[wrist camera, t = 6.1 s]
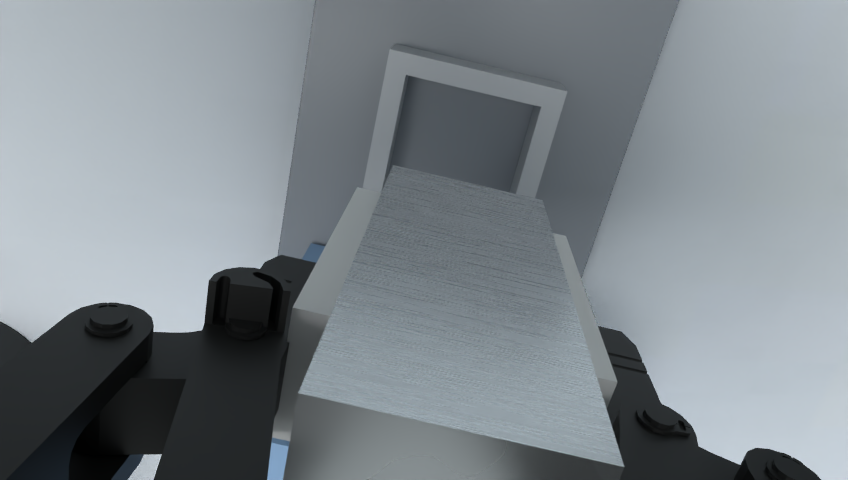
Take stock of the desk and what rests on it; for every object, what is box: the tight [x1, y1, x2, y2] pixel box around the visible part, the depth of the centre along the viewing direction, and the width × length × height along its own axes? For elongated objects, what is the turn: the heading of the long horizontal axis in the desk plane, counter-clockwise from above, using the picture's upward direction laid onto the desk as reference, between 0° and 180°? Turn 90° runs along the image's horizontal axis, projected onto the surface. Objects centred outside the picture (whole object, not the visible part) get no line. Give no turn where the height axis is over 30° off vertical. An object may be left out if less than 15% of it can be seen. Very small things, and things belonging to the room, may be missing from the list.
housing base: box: [278, 0, 679, 277], centre depth 29 cm, size 28×14×4 cm, turn 168°
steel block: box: [283, 165, 624, 480], centre depth 13 cm, size 4×4×10 cm
